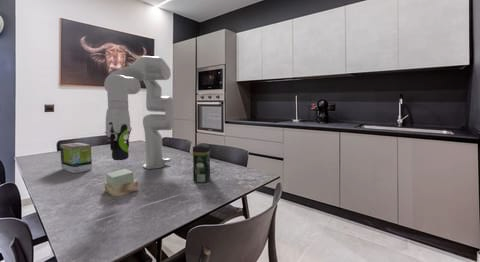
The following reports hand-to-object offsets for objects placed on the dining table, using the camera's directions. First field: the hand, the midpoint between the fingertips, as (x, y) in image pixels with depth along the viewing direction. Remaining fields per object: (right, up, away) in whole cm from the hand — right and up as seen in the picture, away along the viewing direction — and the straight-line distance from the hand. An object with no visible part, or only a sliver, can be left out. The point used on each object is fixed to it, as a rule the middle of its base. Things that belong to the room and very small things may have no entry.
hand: (120, 148), depth 99 cm
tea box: (-43, -15, +35) cm, 57 cm away
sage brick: (-1, -15, +2) cm, 15 cm away
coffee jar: (+31, -18, +18) cm, 40 cm away
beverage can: (0, -5, 0) cm, 5 cm away
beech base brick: (0, -18, +2) cm, 19 cm away
